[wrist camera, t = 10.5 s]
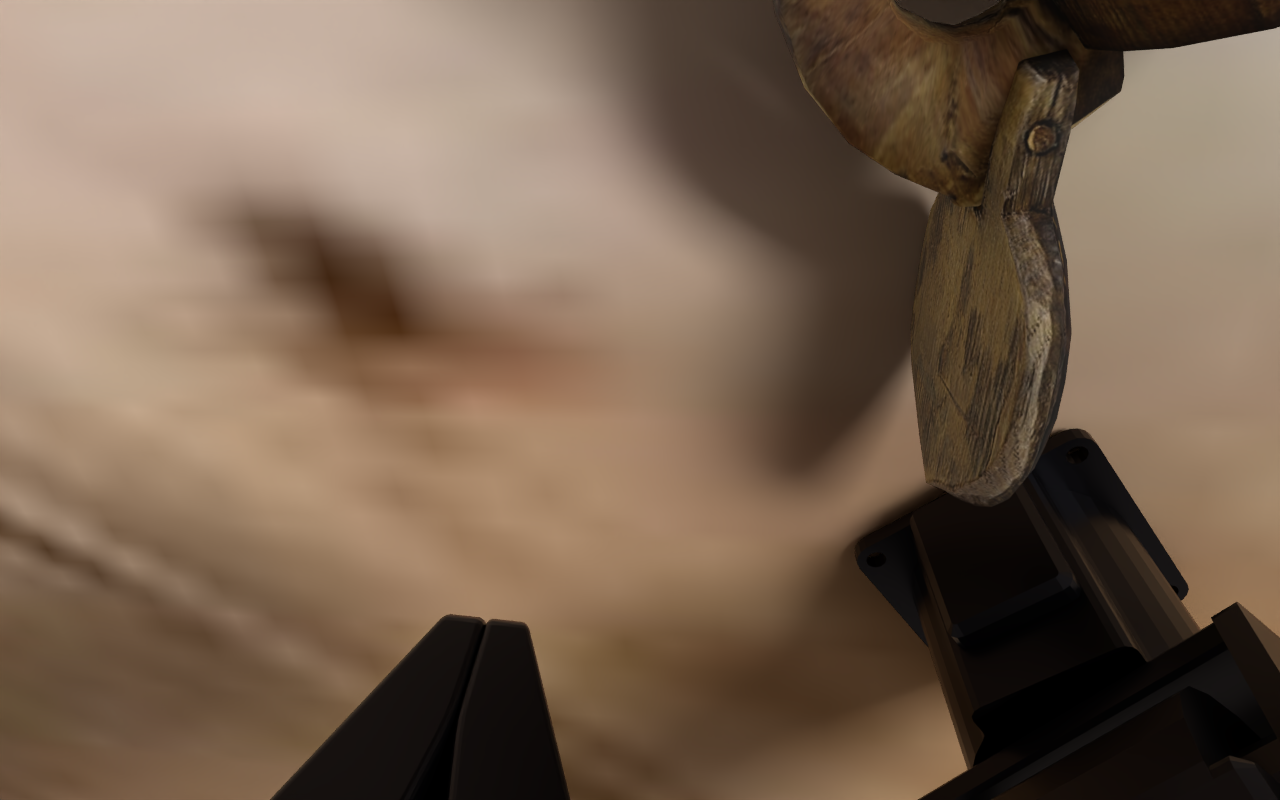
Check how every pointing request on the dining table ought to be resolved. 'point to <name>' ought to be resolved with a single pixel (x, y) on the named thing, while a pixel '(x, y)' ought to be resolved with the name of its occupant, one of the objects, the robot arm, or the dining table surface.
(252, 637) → the dining table surface
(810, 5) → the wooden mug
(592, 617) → the dining table surface
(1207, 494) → the dining table surface
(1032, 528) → the robot arm
